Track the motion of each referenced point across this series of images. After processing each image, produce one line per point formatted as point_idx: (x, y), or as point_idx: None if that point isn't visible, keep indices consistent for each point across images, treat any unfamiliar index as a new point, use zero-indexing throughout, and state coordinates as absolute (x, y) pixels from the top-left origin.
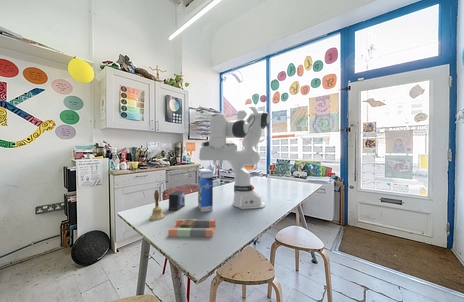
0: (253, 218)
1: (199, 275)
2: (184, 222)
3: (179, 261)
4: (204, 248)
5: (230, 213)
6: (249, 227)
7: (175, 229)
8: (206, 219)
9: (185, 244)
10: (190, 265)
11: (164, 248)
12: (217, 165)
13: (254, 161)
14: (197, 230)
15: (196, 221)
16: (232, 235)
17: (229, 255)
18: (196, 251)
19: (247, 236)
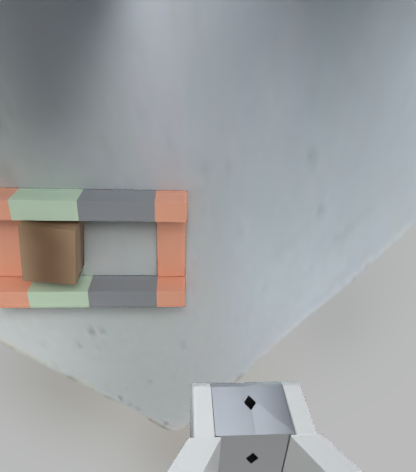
0: (410, 102)
1: (177, 426)
2: (33, 261)
3: (113, 395)
4: (168, 348)
5: (278, 4)
6: (352, 212)
7: (20, 304)
8: (135, 203)
9: (97, 333)
10: (147, 405)
11: (35, 353)
12: (236, 468)
13: None
14: (121, 306)
15: (85, 220)
16: (265, 277)
17: (247, 371)
18: (147, 361)
19: (322, 282)
